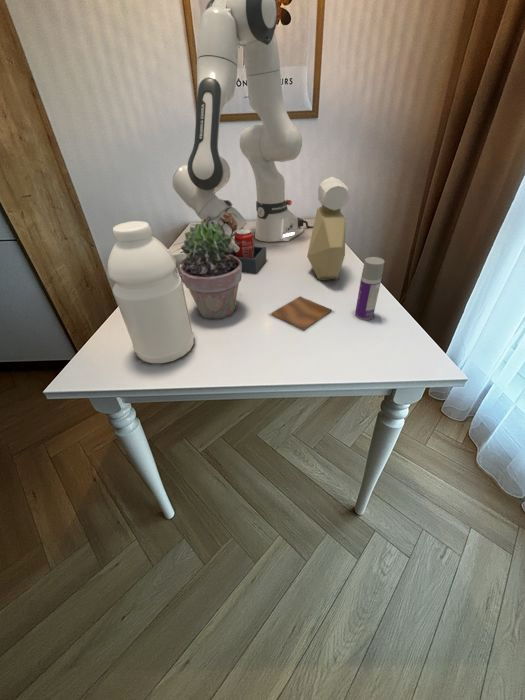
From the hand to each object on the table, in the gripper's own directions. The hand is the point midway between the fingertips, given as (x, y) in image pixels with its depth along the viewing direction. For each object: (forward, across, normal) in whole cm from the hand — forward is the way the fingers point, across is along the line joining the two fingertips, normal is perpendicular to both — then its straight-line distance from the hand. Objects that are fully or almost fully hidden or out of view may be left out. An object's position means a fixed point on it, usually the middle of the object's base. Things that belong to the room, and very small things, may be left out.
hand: (244, 245), depth 106 cm
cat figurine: (-4, -14, +15) cm, 21 cm away
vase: (+25, +1, -14) cm, 29 cm away
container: (+35, -23, -25) cm, 49 cm away
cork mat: (+24, -26, -13) cm, 38 cm away
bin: (+5, 0, +5) cm, 7 cm away
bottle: (+4, -49, +7) cm, 50 cm away
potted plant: (+7, -31, +4) cm, 32 cm away
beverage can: (+5, 0, +5) cm, 7 cm away
